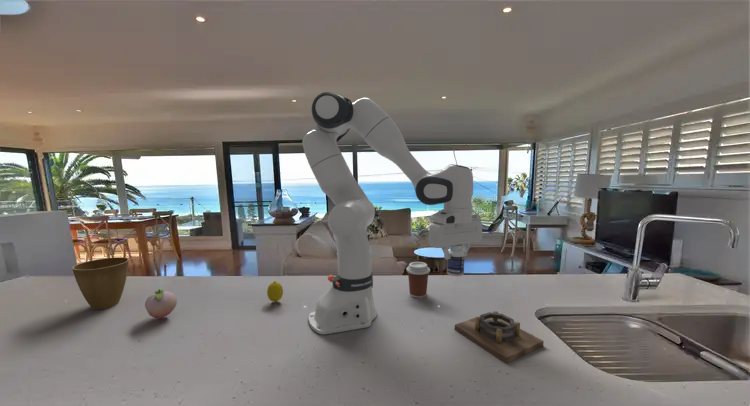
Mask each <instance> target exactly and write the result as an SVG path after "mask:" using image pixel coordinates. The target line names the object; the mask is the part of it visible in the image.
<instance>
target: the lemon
mask: <svg viewBox="0 0 750 406" xmlns="http://www.w3.org/2000/svg"><path fill="white" fill-rule="evenodd" d="M266 294H267V298H268V300H269V301H271V302H273V303H277V302H278V301H280V299H282V297H283V295H284V289H283V286H282V284H281V283H280V282H279V281H272V282H271V283H270V284H269V285H268V287H267V290H266Z"/></svg>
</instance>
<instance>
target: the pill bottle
mask: <svg viewBox="0 0 750 406" xmlns="http://www.w3.org/2000/svg"><path fill="white" fill-rule="evenodd" d="M463 246H464V245H463V244H461V245H454V246H449V250H448V251H449V254H452V255H451V259H449V260H446V274H447V275H449V276H451V277H462V276H464V274H465V257H464V252H463V251H462V249H463Z"/></svg>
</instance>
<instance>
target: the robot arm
mask: <svg viewBox="0 0 750 406" xmlns="http://www.w3.org/2000/svg"><path fill="white" fill-rule="evenodd" d="M311 115H312V118H313V120H314V122H315V123H316V125H315V126H314V129H312V130H310V131H309V132H307V133H306V134H305V135H304V136H303V139H302V142H301V143H302V148H303V152H304V154H305V158H306V161H307V163H308V166H309V167H310V170H311V171H312V173H313V176H314V178H315V179H316V181H317V183H318V185H319V188H320V190H321V191H322V192H323V194H324V195H326V196H327V197H328V198H329V199H330V200H331V202H332V203H333V205H334V206H333V208H332V209H331V210H330V211H329V213H328V216H327V225H328V228H329V230H330V232H332V234H333V239H334V243H335V248H336V254H337V255H336V256H337V273H336V274H335V276H333V274H328V276H327V280H328V281H329V283H330V282H331V283H332V286H331V287H330V288H329V289H328V290H326V291H325V292H324V293H323V294H322V295H321V296H320V297H319V298H318V299H317V300H316V302H315V310H314V311H311V312H310V313H309V314H308V325H309V326H310V327H311V329H312V330H313V331H314V332H315V333H317V334H319V335H328V334H334V333H335V334H337V333H343V332H347V331H348V332H349V331H353V330H354V331H355V330H360V329H364V328H369V327H371V325H372V322H373V321H374V320H375V319H376V317H377V316H378V315H377V314H378V312H377V309H376V306H375V301H374V296H373V288H374V276H373V272H372V249H371V247H370V243H369V238H368V231H367V230H368V227H369V226H370V225H371V224H372V223H373V221H374V219H375V216H376V215H375V214H376V210H375V209H376V208H375V206H374V204H373V202H371V200H369V198H368V196H367V195H366V193H365V191H364V190H363V189H362V187H361V186H360V183H358V182H357V180H356V179H355V177H354V175H353V173H352V171H351V170H350V168H349V165H348V163H347V162H346V160H345V158H344V155H343V154H342V152H341V150H340V147H339V145H338V142H339V141H340V140H341V139H343V137H344V136H346V135H347V134H348V133H349V131H350V130H352V131H353V130H354V131H355V132H356V133H357V134H358V135H359V136H360V137H361V138H362V139H363V141H364V142H365V143H366V144H367V146H369V147H370V148H371V149H372V150H373V151H374V152H376V153H377V154H378V155H380V156H382V157H383V158H385V159H387V160H389V161H391V162H392V163H393V164H394V165H396V166H397V167H398V168H399V170H401V172H402V173H403V174H404V175H405V176H406V177H407V178H408V180H410V182H411V184H412V185H413V187H414V192H415V195H416V198H417V199H418V201H419V202H420V203H422V204H423V205H425V206H435V205H441V204H443V209H441V210H438V211H437V212H435V213H433V214H431V215H430V217H429V218H430V220H429V221H430V222H431V223H430V225H429V228H428V244H429V245H430V246H431V247H432V248H435V249H440V248H441V251H442V252H443V258H444V260H446V261H447V260H449V259H451V255H452V254H449V250H450V246H454V245H463V249H462V251H463V252H464V258H465V257H468V252H469V250H470V247H471V244H473V243H480V242H482V240H483V225H482V217H480V215H479V214H477V213H475V214H473V202H472V198H473V195H474V175H473V171H472V170H471V168H469V167H468V166H465V165H461V164H460V165H459V164H454V163H453V164H448V165H447V166H445V167H443V168H442V169H440V170H438V171H436V172H434V173H431V172H428V171H427V170H426V169H425V168H424V167H423V165H422V164H421V163H420V162H419V161H418V160H417V158H415V156H414V155H413V153H411V151H410V150H409V148H408V145H407V143H406V141H405V138H404V136H403V133H402V132H401V130H400V129H399V127H398V125H397V124H396V123H395V121H394V120H393V119H392V117H391V116H390V115H389V114H388V113H387V112H386V111H385V110H384V109H383V108H382V107H381V106H379V105H378V104H377V103H376V102H375V101H374V100H372V99H371V98H369V97H362V98H359V99H356V100H355V101H354V102H352V100H351V99H350V98H347V97H344V96H341V95H339V94H338V93H337V94H336V93H335V92H331V91H329V92H328V91H324V92H322V93H319V94H318V95H317V96H316V97H315V98H314V100H313V102H312V104H311Z"/></svg>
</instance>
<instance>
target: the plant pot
mask: <svg viewBox="0 0 750 406" xmlns="http://www.w3.org/2000/svg"><path fill="white" fill-rule="evenodd" d="M129 260H130V259H129V258H128V257H117V256H115V257H107V258H106V257H105V258H98V259H92V260H88V261H84V262H80V263H78V264H75V265H73V266H72V268H71V269H72V272H73V276H74V278H75V282H76V283H77V284H76V285H78V288H79V291H80V292H81V294H82V296H83V298H84V300H85V301H86V303H87V304H88V305H89V307H90V308H91V309H92V310H95V311H96V310H99V311H100V310H104V309H105V310H106V309H109V308H112V307H114V305H115V306H116V304H117V305H118V304H119V303H120V301H121V298H122V296H123V292H124V288H125V286H126V282H127V276H128V270H129V262H130V261H129Z"/></svg>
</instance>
